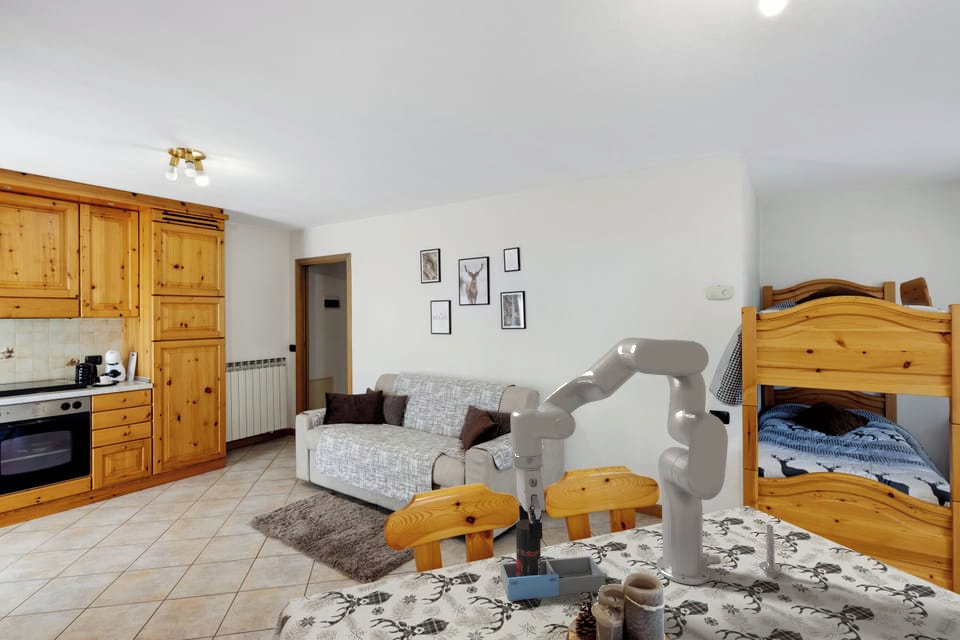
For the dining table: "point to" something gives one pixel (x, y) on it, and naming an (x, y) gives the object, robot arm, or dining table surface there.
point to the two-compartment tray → (552, 578)
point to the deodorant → (527, 551)
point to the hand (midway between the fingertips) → (530, 529)
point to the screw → (770, 556)
